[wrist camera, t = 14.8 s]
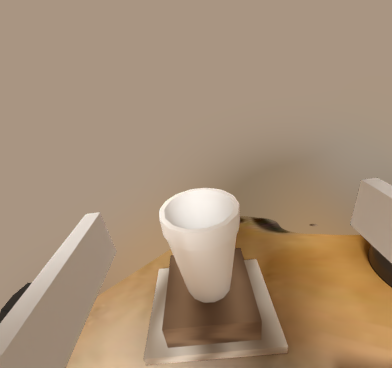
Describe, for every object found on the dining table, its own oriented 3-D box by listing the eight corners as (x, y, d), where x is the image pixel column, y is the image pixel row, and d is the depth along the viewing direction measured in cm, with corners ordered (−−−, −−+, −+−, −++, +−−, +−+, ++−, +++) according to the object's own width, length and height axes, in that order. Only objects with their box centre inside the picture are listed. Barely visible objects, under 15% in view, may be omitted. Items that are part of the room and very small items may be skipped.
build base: (256, 264, 39) (256, 242, 36) (287, 353, 26) (290, 327, 24) (160, 274, 39) (154, 252, 37) (146, 365, 27) (135, 341, 24)
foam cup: (188, 254, 36) (176, 187, 30) (243, 260, 33) (241, 188, 27) (167, 307, 28) (144, 229, 22) (238, 322, 25) (233, 237, 19)
